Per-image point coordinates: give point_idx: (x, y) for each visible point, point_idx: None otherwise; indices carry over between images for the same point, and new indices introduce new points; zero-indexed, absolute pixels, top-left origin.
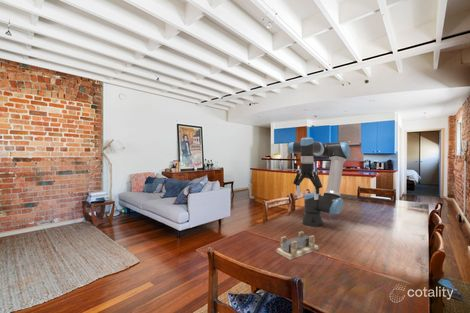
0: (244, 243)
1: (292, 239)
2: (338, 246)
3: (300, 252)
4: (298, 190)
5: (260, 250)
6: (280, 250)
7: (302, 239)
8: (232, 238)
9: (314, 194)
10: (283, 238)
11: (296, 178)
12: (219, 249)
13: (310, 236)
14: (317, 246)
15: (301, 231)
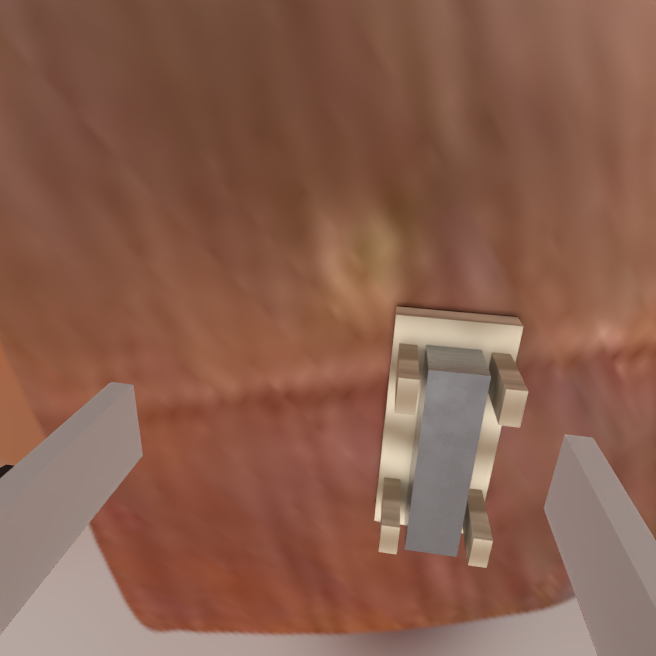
0: (195, 531)
1: (422, 489)
2: (605, 144)
3: (490, 471)
4: (74, 505)
5: (305, 534)
6: (401, 521)
7: (468, 448)
8: (111, 531)
9: (582, 597)
10: (396, 545)
11: None
12: (196, 627)
13: (509, 419)
14: (521, 333)
15: (400, 385)
